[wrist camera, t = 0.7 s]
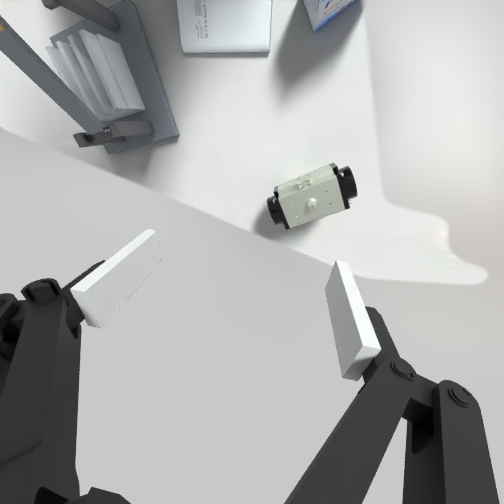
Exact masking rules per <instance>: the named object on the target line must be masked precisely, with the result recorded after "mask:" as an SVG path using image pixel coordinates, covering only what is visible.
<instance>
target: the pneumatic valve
mask: <svg viewBox="0 0 504 504" xmlns="http://www.w3.org/2000/svg"><path fill="white" fill-rule="evenodd" d="M355 197H357V188H356V183H355V180H354V177H353V174H352V171H351V169H350V168H349V167H348V166H346V167H344V168H341V169H339V170H338V168H337V166H336V165H335V164H334V163H331V164H329V165H326V166H324V167H322V168H319V169H317V170H314V171H312V172H310V173H307V174H305V175H303V176H300V177H298V178H295V179H293V180H291V181H288V182H286V183H284V184H281V185H279V186H276V187H275V189H274V196H272V197H269V198H268V199H267V204H268V209H269V212H270V215H271V217H272V219H273V221H274V223H275V224H276V225H278V224H281V223H283V226H284V227H285V228H286V230H287V229H290V228H293V227H296V226H299V225H302V224H305V223H308V222H311V221H314V220H316V219H319V218H322V217H325V216H328V215H331V214H334V213H337V212H340V211H343V210H346V209H349V208H350V206H349V204H351V203H350V200H349V199H352V198H355Z"/></svg>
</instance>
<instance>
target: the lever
mask: <svg viewBox="0 0 504 504" xmlns="http://www.w3.org/2000/svg"><path fill="white" fill-rule="evenodd" d="M0 50H1V51H2V52H3V53H4V54H5V55H6V56H7V57H8V58H9V59H10V60H11V61H12V62H14V63H15V64H16V65H17V66H18V67H19V68H20V69H21V70H22V71H23V72H24V73H25V74H26V75H27V76H28V77H29V78H31V79H32V80H33V81H34V82H35V83H36V84H37V85H38V86H39V87H40V88H41V89H42V90H43V91H44V92H45V93H46V94H47V95H49V96H50V97H51V98H52V99H53V100H54V101H55V102H56V103H57V104H58V105H59V106H60V107H61V108H62V109H63V110H64V111H66V112H67V113H68V114H69V115H70V116H71V117H72V118H73V119H74V120H75V121H76V122H77V123H78V124H79V125H80V126H81V127H82V128H84V129H85V130H86V131H87V132H88V133H85V138H86V140H87V141H88V142H89V143H91V144H94V143H97V142H100V141H103V140H107V139H110V138H113V135H112V133H111V131H110V129H109V127H108V126H105V125H104V124H103V123H102V122H101V121H100V120H99V119H98V118H97V117H96V116H95V115H94V114H93V113H92V112H91V111H90V110H89V108H88V107H87V106H86V105H85V104H84V103H83V102H82V101H81V100H80V99H79V98H78V97H77V96H76V95H75V94H74V93H73V92H72V91H71V90H70V89H69V87H68V86H67V85H66V84H65V83H64V82H63V81H62V80H61V79H60V78H59V77H58V76H57V75H56V74H55V73H54V72H53V71H52V70H51V69H50V67H49V66H48V65H47V64H46V63H45V62H44V61H43V60H42V59H41V58H40V57H39V56H38V55H37V54H36V53H35V52H34V51H33V50H32V49H31V48H30V46H29V45H28V44H27V43H26V42H25V41H24V40H23V39H22V38H21V37H20V36H19V35H18V34H17V33H16V32H15V31H14V30H13V29H12V28H11V27H10V25H9V24H8V23H7V22H6V21H5V20H4V19H3V18H2V17H1V15H0Z"/></svg>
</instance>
